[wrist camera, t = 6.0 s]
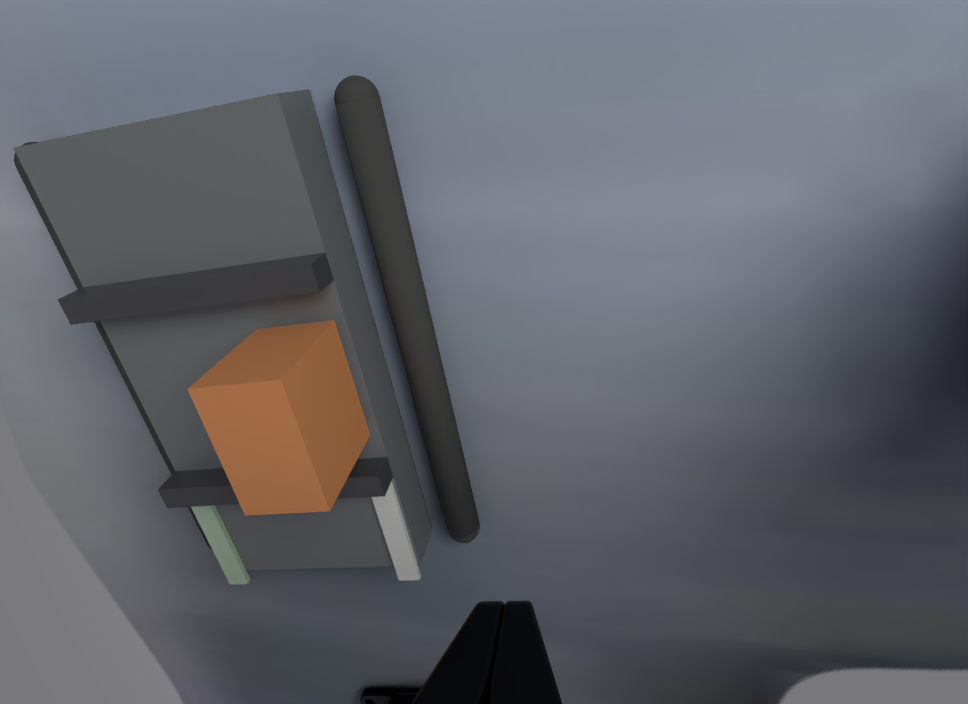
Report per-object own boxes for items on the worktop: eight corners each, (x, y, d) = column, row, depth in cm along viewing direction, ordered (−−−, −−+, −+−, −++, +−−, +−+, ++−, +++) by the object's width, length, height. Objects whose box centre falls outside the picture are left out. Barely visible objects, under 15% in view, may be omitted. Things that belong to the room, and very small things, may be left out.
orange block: (370, 435, 18) (330, 511, 15) (298, 440, 19) (244, 515, 16) (334, 320, 17) (280, 379, 14) (256, 329, 17) (187, 389, 14)
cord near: (484, 526, 23) (479, 549, 21) (454, 527, 23) (448, 550, 22) (379, 70, 16) (365, 71, 15) (338, 79, 16) (322, 81, 15)
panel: (434, 536, 23) (416, 598, 20) (254, 542, 25) (216, 601, 22) (309, 89, 16) (258, 95, 13) (68, 138, 18) (-20, 153, 15)
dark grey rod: (247, 536, 25) (232, 557, 23) (222, 537, 25) (206, 558, 24) (61, 136, 18) (29, 141, 17) (29, 142, 18) (-5, 148, 17)
